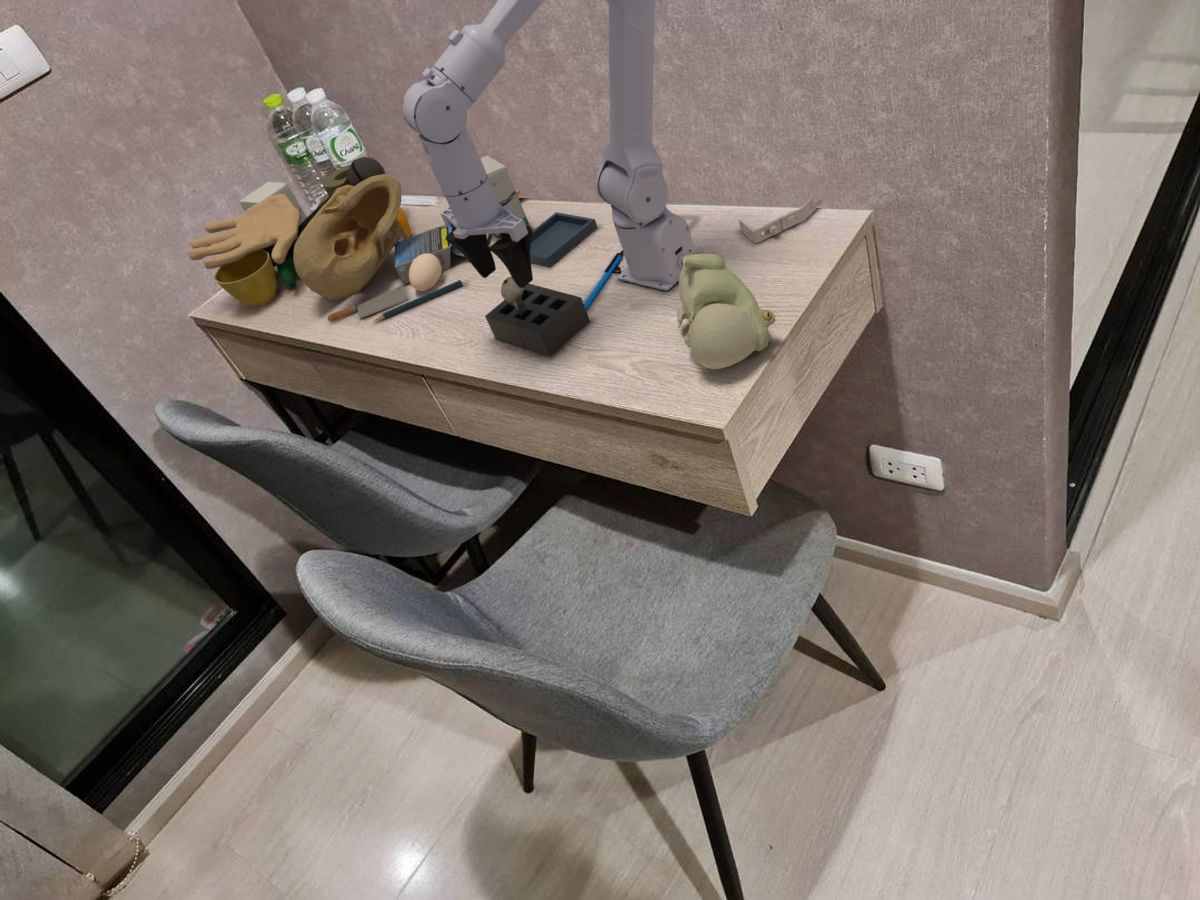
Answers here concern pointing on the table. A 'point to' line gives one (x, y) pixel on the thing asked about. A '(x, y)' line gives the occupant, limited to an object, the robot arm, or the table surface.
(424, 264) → the egg
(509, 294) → the spoon
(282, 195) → the hand model
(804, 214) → the bracket
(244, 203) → the white packaging box
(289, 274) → the gaming controller
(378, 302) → the cleaver
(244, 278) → the flower pot
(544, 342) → the rack
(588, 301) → the pen
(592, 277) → the table surface
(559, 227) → the tray
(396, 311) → the pencil
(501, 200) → the ink box
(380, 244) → the ear model
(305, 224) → the microphone
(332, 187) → the flange
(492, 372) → the table surface
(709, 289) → the figurine
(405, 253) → the label tape box
